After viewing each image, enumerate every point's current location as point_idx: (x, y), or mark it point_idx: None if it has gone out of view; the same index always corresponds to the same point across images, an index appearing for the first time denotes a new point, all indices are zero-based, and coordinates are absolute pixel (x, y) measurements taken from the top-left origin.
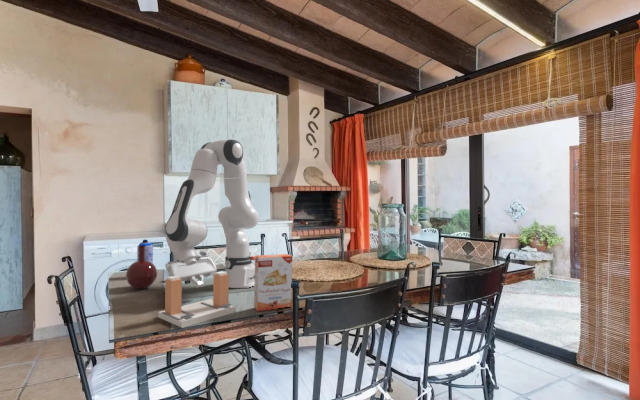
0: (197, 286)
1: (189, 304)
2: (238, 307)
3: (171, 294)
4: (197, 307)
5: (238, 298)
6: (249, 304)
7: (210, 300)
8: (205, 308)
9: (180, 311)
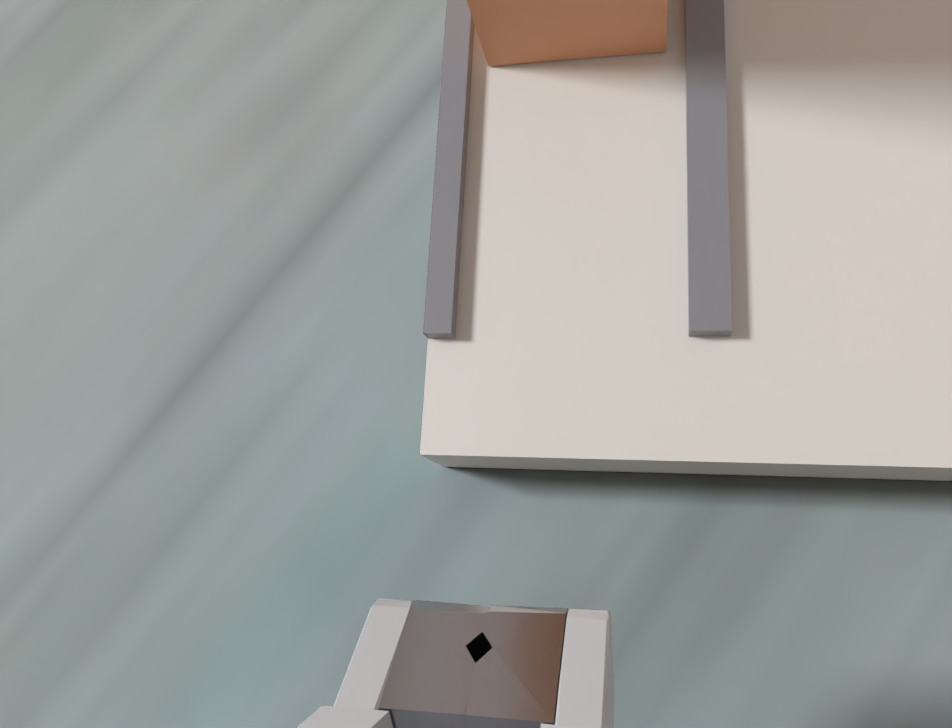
0: (611, 642)
1: (940, 444)
2: (318, 23)
3: None
4: (920, 163)
5: (8, 371)
6: (147, 35)
7: (490, 365)
8: (842, 24)
9: None
